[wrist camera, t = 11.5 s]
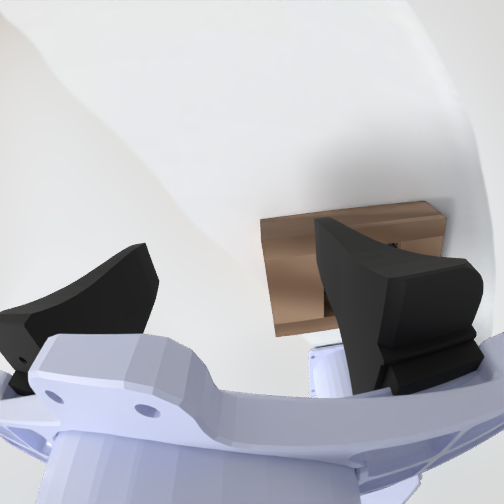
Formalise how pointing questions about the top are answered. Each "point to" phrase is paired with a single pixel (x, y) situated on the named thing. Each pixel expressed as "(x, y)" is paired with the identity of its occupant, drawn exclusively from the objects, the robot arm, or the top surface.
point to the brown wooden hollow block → (305, 266)
